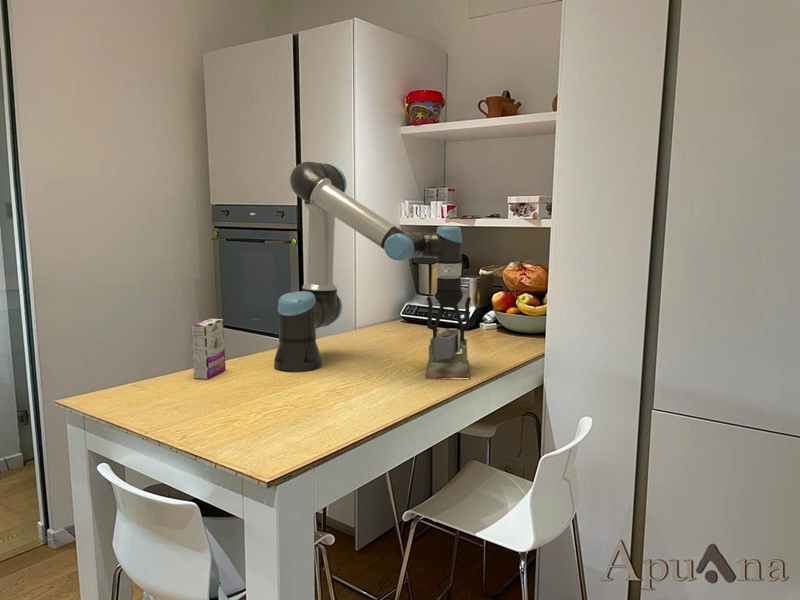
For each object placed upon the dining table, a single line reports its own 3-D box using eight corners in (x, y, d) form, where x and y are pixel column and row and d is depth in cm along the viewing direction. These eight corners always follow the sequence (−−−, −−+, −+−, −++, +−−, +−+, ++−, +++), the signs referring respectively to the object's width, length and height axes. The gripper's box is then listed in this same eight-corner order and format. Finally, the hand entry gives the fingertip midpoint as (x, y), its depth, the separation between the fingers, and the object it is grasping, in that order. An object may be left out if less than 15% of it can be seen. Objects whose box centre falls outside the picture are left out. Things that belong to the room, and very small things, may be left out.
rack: (425, 378, 184) (425, 349, 183) (428, 362, 204) (428, 335, 203) (469, 379, 183) (469, 350, 182) (468, 363, 203) (468, 336, 201)
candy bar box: (211, 369, 194) (209, 318, 192) (226, 370, 193) (224, 318, 191) (192, 379, 183) (190, 324, 181) (208, 380, 182) (205, 325, 180)
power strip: (433, 357, 186) (433, 336, 185) (446, 347, 201) (446, 327, 200) (450, 358, 184) (450, 337, 183) (461, 348, 199) (462, 328, 198)
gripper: (417, 278, 187) (417, 353, 190) (480, 278, 185) (479, 354, 188) (419, 275, 194) (419, 348, 197) (479, 276, 192) (478, 349, 195)
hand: (448, 351), depth 193 cm, fingers closed on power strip, 6 cm apart
